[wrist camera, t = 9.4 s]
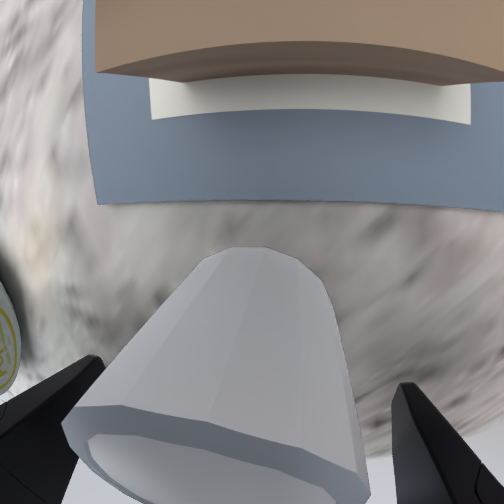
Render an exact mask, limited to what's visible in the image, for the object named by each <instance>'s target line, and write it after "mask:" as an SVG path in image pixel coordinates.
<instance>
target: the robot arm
mask: <svg viewBox="0 0 504 504" xmlns="http://www.w3.org/2000/svg"><path fill="white" fill-rule="evenodd" d="M105 369H106V368H105V366H104V363H103V361H102V359H101V358H100V357H98V356H94V355H87V356H85V357H84V358H82V359H80V360H78V361H77V362H75V363H73V364H72V365H70V366H68V367H66V368H65V369H63V370H61V371H59V372H58V373H56V374H54V375H52V376H51V377H49V378H47V379H45V380H44V381H42V382H40V383H38V384H37V385H35V386H33V387H31V388H30V389H28V390H26V391H24V392H23V393H21V394H19V395H17V396H16V397H14V398H12V399H10V400H9V401H8V402H5V403H3V404H1V405H0V504H61V503H62V500H63V497H64V495H65V492H66V489H67V487H68V484H69V482H70V479H71V476H72V474H73V471H74V469H75V466H76V464H77V461H78V459H79V456H78V455H77V454H76V453H75V452H74V451H73V450H72V448H71V447H70V446H69V443H68V441H67V438H66V435H65V433H64V430H63V427H62V424H61V423H62V421H63V420H64V419H65V417H66V416H67V415H68V414H69V412H70V411H71V410H72V409H73V407H74V406H75V405H76V404H77V402H78V401H79V400H80V399H81V398H82V396H83V395H84V394H85V393H86V392H87V390H88V389H89V388H90V387H91V386H92V384H93V383H94V382H95V381H96V380H97V379H98V377H99V376H100V375H101V374H102V373H103V372H104V370H105ZM391 412H392V455H393V465H394V474H395V484H396V495H397V504H504V487H503V486H502V485H501V484H500V483H499V482H498V480H497V479H496V478H495V477H494V476H493V475H492V474H491V472H490V471H489V470H488V469H487V468H486V466H485V465H484V464H483V463H482V464H481V460H480V459H479V458H478V457H477V455H476V454H475V453H474V452H473V451H472V449H471V448H470V447H469V446H468V445H467V443H466V442H465V441H464V440H463V439H462V437H461V436H460V435H459V434H458V433H457V431H456V430H455V429H454V428H453V427H452V426H451V424H450V423H449V422H448V421H447V420H446V419H445V417H444V416H443V415H442V414H441V413H440V412H439V410H438V409H437V408H436V407H435V406H434V405H433V403H432V402H431V401H430V400H429V399H428V398H427V397H426V395H425V394H424V393H423V392H422V391H421V390H420V389H419V387H418V386H417V385H416V384H415V383H413V382H403V383H400V384H399V385H398V388H397V390H396V393H395V395H394V398H393V400H392V405H391Z"/></svg>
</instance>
